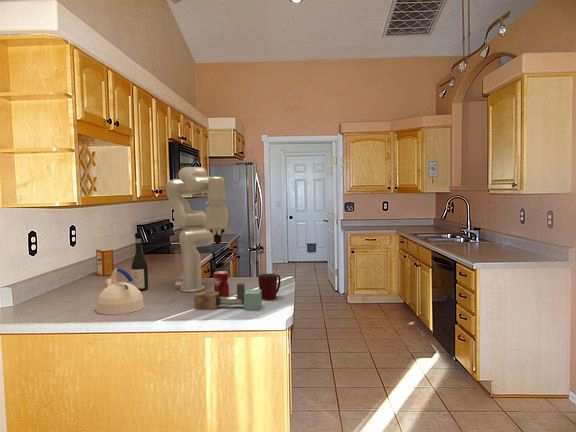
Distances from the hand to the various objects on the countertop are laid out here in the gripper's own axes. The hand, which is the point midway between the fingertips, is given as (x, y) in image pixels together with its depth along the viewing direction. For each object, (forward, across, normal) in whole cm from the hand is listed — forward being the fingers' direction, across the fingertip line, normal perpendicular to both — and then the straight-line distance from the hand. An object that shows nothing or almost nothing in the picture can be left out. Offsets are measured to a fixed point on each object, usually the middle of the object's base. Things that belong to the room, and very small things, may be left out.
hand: (217, 243), depth 208 cm
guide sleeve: (+27, -3, -10) cm, 29 cm away
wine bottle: (+27, -48, +24) cm, 60 cm away
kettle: (+28, -42, -12) cm, 52 cm away
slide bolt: (+26, +7, -10) cm, 29 cm away
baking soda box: (+27, -87, +64) cm, 111 cm away
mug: (+27, +23, +7) cm, 36 cm away
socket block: (+27, +17, -10) cm, 34 cm away
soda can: (+27, -1, +9) cm, 29 cm away
